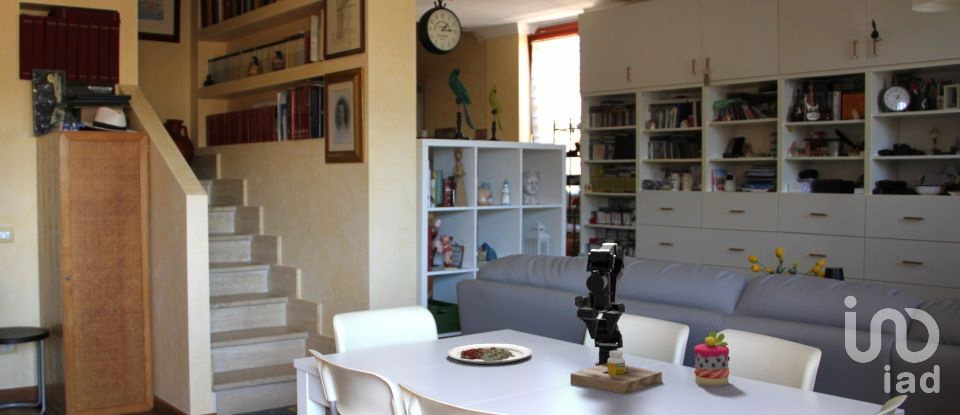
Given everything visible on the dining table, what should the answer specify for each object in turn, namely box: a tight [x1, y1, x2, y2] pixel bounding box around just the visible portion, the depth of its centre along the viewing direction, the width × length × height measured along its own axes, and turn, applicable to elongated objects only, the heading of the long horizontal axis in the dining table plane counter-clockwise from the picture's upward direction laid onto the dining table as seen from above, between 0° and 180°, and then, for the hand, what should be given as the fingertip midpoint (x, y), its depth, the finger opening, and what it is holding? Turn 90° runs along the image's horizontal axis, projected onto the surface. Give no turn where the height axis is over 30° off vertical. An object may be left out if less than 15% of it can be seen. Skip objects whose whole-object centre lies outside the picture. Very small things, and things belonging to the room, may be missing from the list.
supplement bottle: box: [607, 350, 626, 376], centre depth 269 cm, size 5×5×10 cm
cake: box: [693, 331, 730, 387], centre depth 267 cm, size 10×11×15 cm
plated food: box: [447, 343, 533, 365], centre depth 310 cm, size 30×30×3 cm
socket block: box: [570, 363, 663, 395], centre depth 269 cm, size 20×20×3 cm
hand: (601, 337), depth 280 cm, fingers open, 9 cm apart
